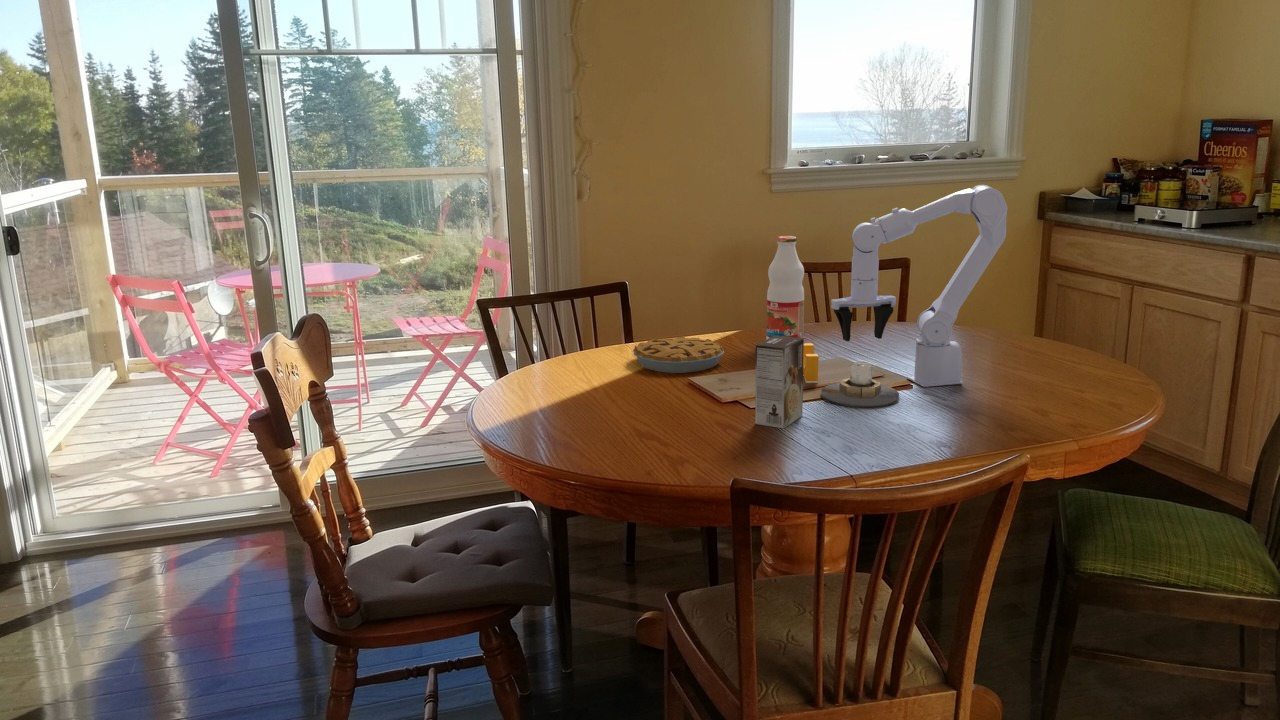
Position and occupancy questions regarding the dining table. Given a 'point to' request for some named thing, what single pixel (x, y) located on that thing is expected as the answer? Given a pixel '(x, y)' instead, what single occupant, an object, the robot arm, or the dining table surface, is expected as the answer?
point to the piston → (861, 374)
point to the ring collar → (860, 395)
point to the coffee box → (779, 381)
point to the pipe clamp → (810, 363)
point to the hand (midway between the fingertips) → (862, 339)
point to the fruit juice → (785, 291)
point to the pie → (678, 354)
